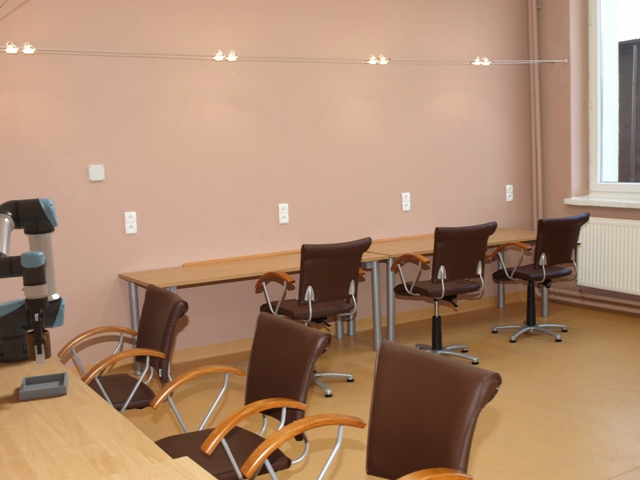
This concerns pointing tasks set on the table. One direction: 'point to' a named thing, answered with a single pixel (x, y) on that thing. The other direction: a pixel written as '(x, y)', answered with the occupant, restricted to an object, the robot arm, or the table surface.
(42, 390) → the tray
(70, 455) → the table surface
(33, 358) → the mug
